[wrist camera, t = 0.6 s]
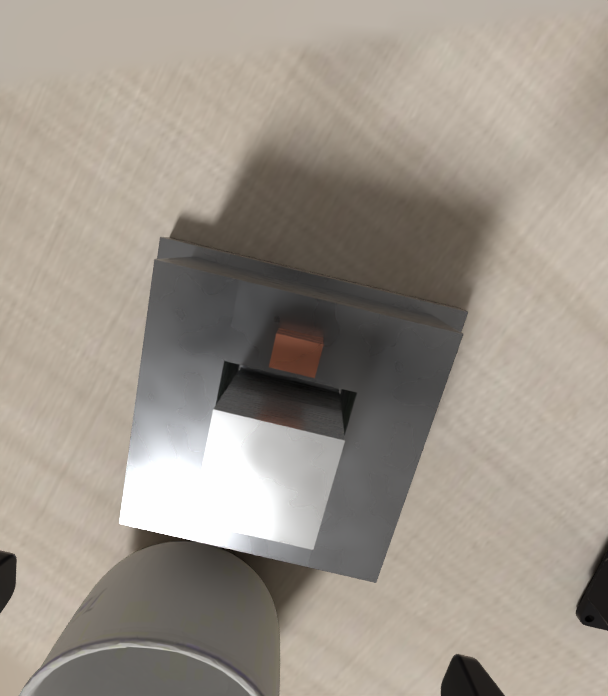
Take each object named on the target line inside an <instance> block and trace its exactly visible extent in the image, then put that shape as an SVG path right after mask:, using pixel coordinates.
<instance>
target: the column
mask: <svg viewBox="0 0 608 696" xmlns="http://www.w3.org/2000/svg"><path fill="white" fill-rule="evenodd" d="M340 392H341V389H340V388H336V387H332V386H327V385H323V384H319V383H315V382H311V381H306V380H302V379H298V378H294V377H290V376H285V375H281V374H277V373H273V372H269V371H265V370H260V369H256V368H252V367H248V366H244V365H240V366H239V371H238V373H237V374H236V376H235V377H234V379H233V380H232V382H231V383H230V385H229V386H228V388H227V389H226V391H225V392H224V394H223V395H222V397H221V398H220V400H219V401H218V403H217V404H216V406H215V407H214V409H213V413H212V418H211V423H210V428H209V434H208V439H207V444H206V449H205V455H204V460H203V465H202V470H201V476H200V481H199V486H198V491H197V497H196V502H195V507H194V513H193V518H192V522H194V523H199V524H203V525H207V526H212V527H216V528H220V529H224V530H229V531H233V532H237V533H242V534H246V535H250V536H255V537H259V538H263V539H268V540H272V541H276V542H281V543H285V544H289V545H294V546H298V547H302V548H307V549H311V550H313V549H314V546H315V542H316V539H317V535H318V532H319V529H320V525H321V522H322V518H323V515H324V511H325V508H326V504H327V501H328V498H329V494H330V491H331V487H332V484H333V480H334V477H335V474H336V470H337V467H338V463H339V460H340V456H341V453H342V450H343V446H344V443H345V435H344V427H343V419H342V411H341V402H340Z"/></svg>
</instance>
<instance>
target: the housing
mask: <svg viewBox="0 0 608 696" xmlns="http://www.w3.org/2000/svg"><path fill="white" fill-rule="evenodd" d="M467 314H468V312H467V311H465V310H463V309H461V308H456V307H452V306H448V305H444V304H440V303H436V302H432V301H428V300H424V299H419V298H415V297H411V296H407V295H403V294H399V293H395V292H391V291H387V290H383V289H378V288H374V287H370V286H366V285H362V284H358V283H354V282H350V281H346V280H341V279H337V278H333V277H329V276H325V275H321V274H317V273H313V272H309V271H304V270H300V269H296V268H292V267H288V266H284V265H280V264H276V263H272V262H267V261H263V260H259V259H255V258H251V257H247V256H243V255H239V254H235V253H230V252H226V251H222V250H218V249H214V248H210V247H206V246H202V245H198V244H193V243H189V242H185V241H181V240H177V239H173V238H169V237H160V242H159V249H158V257H157V259H155V260H154V267H153V275H152V282H151V290H150V297H149V305H148V312H147V319H146V327H145V334H144V342H143V349H142V357H141V364H140V372H139V379H138V387H137V394H136V402H135V409H134V417H133V424H132V432H131V439H130V447H129V454H128V461H127V469H126V476H125V484H124V491H123V499H122V506H121V514H120V521H119V524H123V525H127V526H132V527H136V528H141V529H145V530H149V531H154V532H158V533H162V534H167V535H171V536H175V537H180V538H184V539H188V540H193V541H197V542H201V543H206V544H210V545H214V546H219V547H223V548H227V549H232V550H236V551H240V552H245V553H249V554H253V555H258V556H262V557H266V558H271V559H275V560H279V561H284V562H288V563H292V564H297V565H301V566H305V567H310V568H314V569H318V570H323V571H327V572H331V573H336V574H340V575H344V576H349V577H353V578H357V579H362V580H366V581H370V582H375V583H376V582H377V579H378V576H379V573H380V570H381V567H382V565H383V562H384V559H385V556H386V553H387V550H388V548H389V545H390V542H391V539H392V536H393V533H394V530H395V528H396V525H397V522H398V519H399V516H400V513H401V510H402V508H403V505H404V502H405V499H406V496H407V493H408V490H409V488H410V485H411V482H412V479H413V476H414V473H415V471H416V468H417V465H418V462H419V459H420V456H421V453H422V451H423V448H424V445H425V442H426V439H427V436H428V433H429V431H430V428H431V425H432V422H433V419H434V416H435V413H436V411H437V408H438V405H439V402H440V399H441V396H442V394H443V391H444V388H445V385H446V382H447V379H448V376H449V374H450V371H451V368H452V365H453V362H454V359H455V356H456V354H457V351H458V348H459V345H460V342H461V339H462V336H463V334H462V333H461V331H462V328H463V326H464V323H465V320H466V317H467ZM240 365H244V366H248V367H252V368H256V369H260V370H265V371H269V372H273V373H277V374H281V375H285V376H290V377H294V378H298V379H302V380H306V381H311V382H315V383H319V384H323V385H327V386H332V387H336V388H340V389H341V392H340V402H341V411H342V419H343V427H344V435H345V443H344V446H343V450H342V453H341V456H340V460H339V463H338V467H337V470H336V474H335V477H334V480H333V484H332V487H331V491H330V494H329V498H328V501H327V504H326V508H325V511H324V515H323V518H322V522H321V525H320V529H319V532H318V535H317V539H316V542H315V546H314V549H313V550H311V549H307V548H302V547H298V546H294V545H289V544H285V543H281V542H276V541H272V540H268V539H263V538H259V537H255V536H250V535H246V534H242V533H237V532H233V531H229V530H224V529H220V528H216V527H212V526H207V525H203V524H199V523H194V522H192V518H193V513H194V507H195V502H196V497H197V491H198V486H199V481H200V476H201V470H202V465H203V460H204V455H205V449H206V444H207V439H208V434H209V428H210V423H211V418H212V413H213V409H214V407H215V406H216V404H217V403H218V401H219V400H220V398H221V397H222V395H223V394H224V392H225V391H226V389H227V388H228V386H229V385H230V383H231V382H232V380H233V379H234V377H235V376H236V374H237V373H238V371H239V366H240Z"/></svg>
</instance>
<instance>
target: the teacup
mask: <svg viewBox="0 0 608 696" xmlns="http://www.w3.org/2000/svg"><path fill="white" fill-rule="evenodd" d="M279 691H280V634H279V624H278V618H277V613H276V609H275V606H274V602H273V600H272V598H271V595H270V593H269V591H268V589H267V587H266V586H265V584H264V583H263V581H262V580H261V578H260V577H259V576H258V575H257V574H256V572H255V571H254V570H253V569H252V568H251V567H250V566H248V565H247V564H246V563H245V562H244V561H242V560H241V559H239V558H238V557H236V556H235V555H233V554H231V553H229V552H227V551H225V550H223V549H220V548H218V547H215V546H212V545H208V544H204V543H198V542H189V541H177V542H167V543H161V544H157V545H153V546H149V547H147V548H144V549H142V550H139V551H137V552H135V553H133V554H131V555H130V556H128V557H126V558H125V559H123V560H122V561H120V562H119V563H118V564H116V565H115V566H114V567H113V568H112V569H111V570H110V571H108V572H107V573H106V574H105V575H104V576H103V577H102V578H101V580H100V581H99V582H98V583H97V584H96V585H95V587H94V588H93V589H92V591H91V592H90V593H89V595H88V596H87V597H86V599H85V600H84V601H83V603H82V604H81V606H80V607H79V609H78V610H77V611H76V613H75V614H74V616H73V617H72V619H71V620H70V622H69V623H68V625H67V626H66V628H65V629H64V631H63V632H62V634H61V636H60V637H59V639H58V640H57V642H56V643H55V645H54V646H53V648H52V650H51V651H50V653H49V654H48V656H47V658H46V659H45V661H44V662H43V664H42V666H41V667H40V668H39V669H38V670H37V671H36V672H35V673H34V674H33V675H32V677H31V678H30V679H29V681H28V682H27V683H26V685H25V686H24V688H23V689H22V691H21V693H20V695H19V696H279Z"/></svg>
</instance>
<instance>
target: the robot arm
mask: <svg viewBox="0 0 608 696" xmlns="http://www.w3.org/2000/svg"><path fill="white" fill-rule="evenodd" d="M16 563H17V559H16V556H15V554H13V553H9V552H5V551H0V613H1V612H2V610H3V609H4V607H5V606H6V604H7V603H8V601H9V600H10V598H11V596H12V594H13V592H14V589H15V585H16ZM576 616H577V617H578V619H579V620H580V622H581V623H582V624H583V625H586V626H590V627H594V628H599V629H603V630H607V631H608V551H607V553H606V555H605V557H604V559H603V560H602V562H601V564H600V566H599V568H598V570H597V572H596V574H595V576H594V578H593V579H592V581H591V583H590V585H589V587H588V589H587V591H586V593H585V595H584V597H583V598H582V600H581V602H580V604H579V606H578V608H577V610H576ZM441 696H505V695H504V694H503V693H502V691H501V690H500V689H499V687H498V686H497V685H496V683H495V682H494V681H493V680H492V678H491V677H490V676H489V674H488V673H487V672H486V670H485V669H484V668H483V667H482V665H481V664H480V663H479V662H478V661H477V660H476V659H475V658H473V657H469V656H464V655H460V654H456V655H454V656H453V658H452V659H451V662H450V664H449V667H448V669H447V671H446V674H445V676H444V678H443V681H442V685H441Z"/></svg>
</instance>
